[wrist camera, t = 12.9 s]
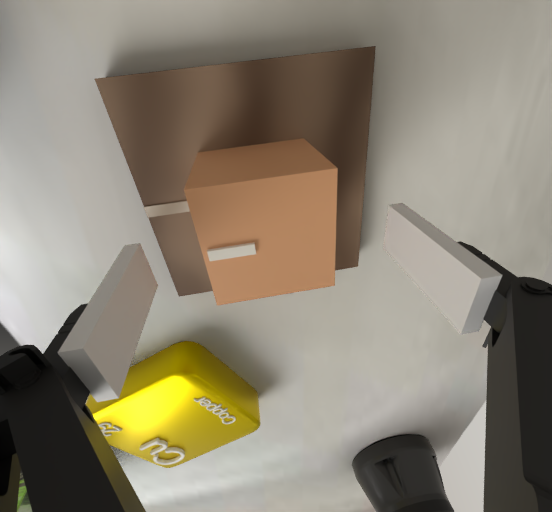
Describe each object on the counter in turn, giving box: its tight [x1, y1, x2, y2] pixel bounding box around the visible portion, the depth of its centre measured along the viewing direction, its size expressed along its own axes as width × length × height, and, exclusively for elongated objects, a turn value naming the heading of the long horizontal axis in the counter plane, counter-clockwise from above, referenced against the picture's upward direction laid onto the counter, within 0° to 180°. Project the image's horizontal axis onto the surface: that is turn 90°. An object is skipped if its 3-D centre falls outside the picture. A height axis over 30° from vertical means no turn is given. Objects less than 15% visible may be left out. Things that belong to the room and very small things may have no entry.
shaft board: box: [95, 46, 376, 296], centre depth 19 cm, size 16×16×6 cm
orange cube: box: [184, 138, 338, 305], centre depth 17 cm, size 7×7×7 cm
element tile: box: [86, 341, 260, 468], centre depth 33 cm, size 15×15×5 cm
